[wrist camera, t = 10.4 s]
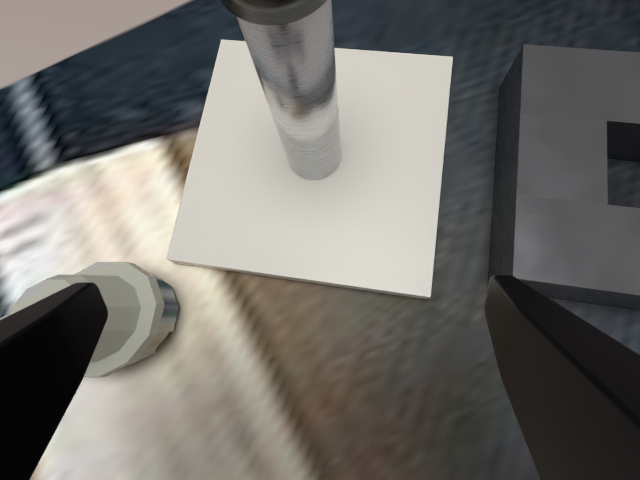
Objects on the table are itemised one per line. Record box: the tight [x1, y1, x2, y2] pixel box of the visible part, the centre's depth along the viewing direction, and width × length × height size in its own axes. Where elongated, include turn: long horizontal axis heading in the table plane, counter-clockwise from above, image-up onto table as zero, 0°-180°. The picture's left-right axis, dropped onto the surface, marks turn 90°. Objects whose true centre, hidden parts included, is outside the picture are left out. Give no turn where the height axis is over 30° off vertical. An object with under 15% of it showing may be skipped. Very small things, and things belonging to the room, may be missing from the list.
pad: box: [166, 40, 453, 299], centre depth 23 cm, size 14×14×1 cm
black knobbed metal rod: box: [221, 0, 342, 180], centre depth 17 cm, size 4×4×13 cm
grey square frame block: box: [488, 45, 640, 310], centre depth 20 cm, size 12×12×4 cm
